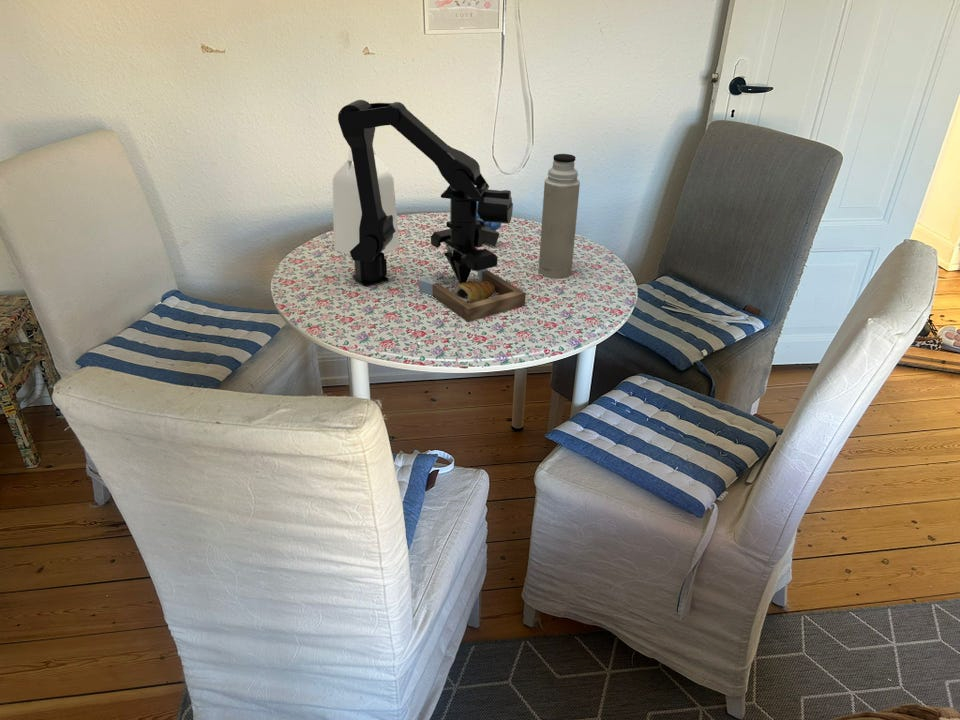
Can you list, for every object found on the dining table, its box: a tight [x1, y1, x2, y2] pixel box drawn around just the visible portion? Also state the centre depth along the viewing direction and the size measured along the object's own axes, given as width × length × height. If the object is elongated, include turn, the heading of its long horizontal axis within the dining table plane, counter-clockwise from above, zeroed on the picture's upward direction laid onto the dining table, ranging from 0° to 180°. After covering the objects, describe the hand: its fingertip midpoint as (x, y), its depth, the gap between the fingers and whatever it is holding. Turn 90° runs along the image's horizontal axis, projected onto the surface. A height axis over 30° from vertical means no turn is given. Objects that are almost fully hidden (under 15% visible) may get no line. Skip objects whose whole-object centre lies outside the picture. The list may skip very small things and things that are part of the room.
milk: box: [332, 147, 400, 256], centre depth 178 cm, size 12×12×26 cm
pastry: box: [453, 280, 496, 304], centre depth 161 cm, size 9×7×4 cm
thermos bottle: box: [538, 153, 581, 279], centre depth 167 cm, size 8×8×28 cm
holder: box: [418, 268, 527, 323], centre depth 160 cm, size 18×18×3 cm
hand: (462, 284), depth 163 cm, fingers closed
